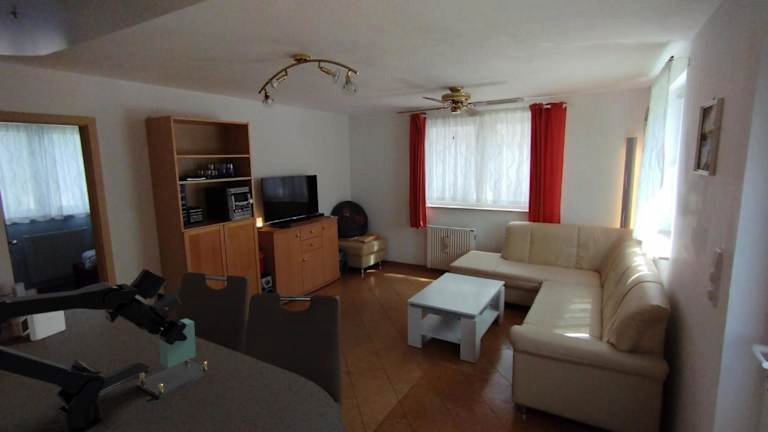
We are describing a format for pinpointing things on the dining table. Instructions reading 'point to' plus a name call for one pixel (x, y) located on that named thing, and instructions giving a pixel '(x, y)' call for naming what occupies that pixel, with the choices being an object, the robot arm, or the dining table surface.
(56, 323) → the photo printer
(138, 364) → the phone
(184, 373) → the chassis
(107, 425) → the dining table surface
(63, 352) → the dining table surface
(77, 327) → the dining table surface
